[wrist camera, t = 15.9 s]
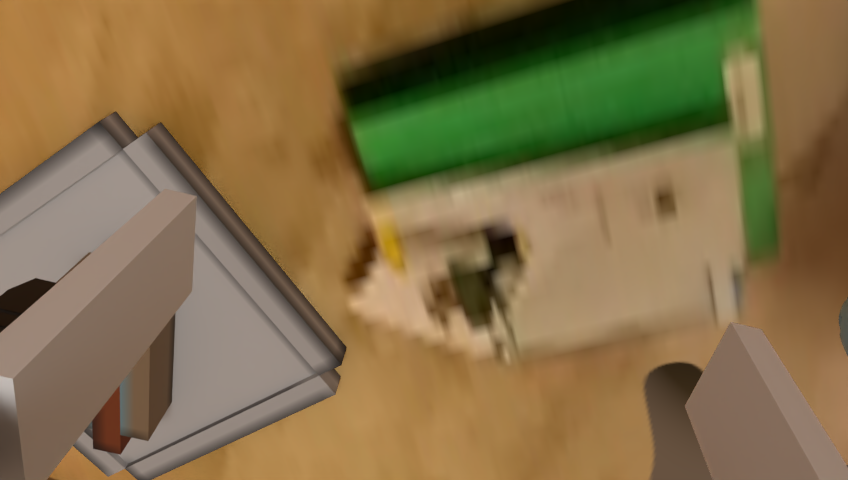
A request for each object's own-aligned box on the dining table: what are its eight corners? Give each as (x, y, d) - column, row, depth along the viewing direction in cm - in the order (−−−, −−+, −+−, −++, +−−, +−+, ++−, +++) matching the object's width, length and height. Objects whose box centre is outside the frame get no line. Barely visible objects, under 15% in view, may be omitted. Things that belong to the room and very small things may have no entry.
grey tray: (-89, 261, 59) (-160, 307, 53) (142, 92, 50) (90, 123, 43) (139, 468, 70) (103, 527, 63) (363, 361, 61) (348, 418, 54)
